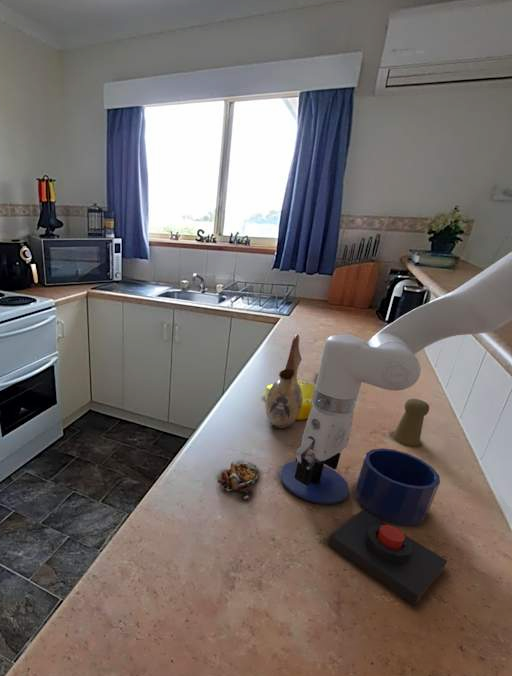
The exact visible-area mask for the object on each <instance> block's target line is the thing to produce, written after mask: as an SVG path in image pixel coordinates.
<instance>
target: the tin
mask: <svg viewBox="0 0 512 676" xmlns="http://www.w3.org/2000/svg"><path fill="white" fill-rule="evenodd" d="M360 468H361V469H360V471H359V474H358V478H357V482H356V485H355V489H354V496H355V499H356V501H357V502H358V504H360V506H361V507H362V508H364V509H365V511H366V512H368V513H369V514H371V515H373V516H374V517H376V518H378V519H380V520H383V521H386V522H388V523H391V524H395V525H398V526H399V525H400V526H408V527H409V526H416V525H420V524H421V523H423V522H424V521H425V519H426V518H427V516H428V514H429V512H430V509H431V506H432V504H433V501H434V499H435V496H436V494H437V491H438V489H439V487H440V484H441V479H440V475H439V472H437V471H436V469H435V468H434V467H433V466H432V465H430V464H429V463H427V462H426V461H424V460H423V459H421V458H419V457H417V456H414V455H412V454H410V453H407V452H404V451H400V450H397V449H391V448H385V447H382V448H373V449H370V450H369V451H367V452H365V455H364V458H363V462H362V464H361V467H360Z"/></svg>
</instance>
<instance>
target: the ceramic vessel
mask: <svg viewBox="0 0 512 676" xmlns="http://www.w3.org/2000/svg"><path fill="white" fill-rule="evenodd" d="M300 339H301V338H300V335H299V334H295V335H294V336H293V338H292V342H291V346H290V351H289V353H288V359H287V362H286V364H285V368H284V369H283V370H281V371H280V372H279V374H278V378H279V379H277V380H276V381H275V382H273V383H272V384H273V385H272V384H271V385H272V387H271V388H270V390H269V392H268V394H267V398H266V399H265V405H264V406H265V408H264V409H265V415H266V418H267V419H268V422H269V423H270V424H271V425H272V426H273V427H275V428H277V429H285V428H287V427H289V426H291V425H292V424H293V423H295V421H296V420H297V419H296V418H297V417H298V415H299V413H300V411H301V407H302V391H301V388H300V386H299V384H298V382H297V380H298V370H299V367H300V365H301V362H302V360H303V359H302V354H301V352H300Z"/></svg>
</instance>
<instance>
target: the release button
mask: <svg viewBox="0 0 512 676" xmlns="http://www.w3.org/2000/svg"><path fill="white" fill-rule="evenodd" d="M404 534H405V533H403V531H402V530H401V529H399V528H397V527H396V526H393V525H389V524H387V525H383V526H381V527H380V530H379V533H378V536H377V537H378V540H379V541H380V543H382V544H383V545H385V546H387V547H389V548H392V549H395V550H397V549H400V548H401V547H402V545H403V542H404V540H405V536H404Z"/></svg>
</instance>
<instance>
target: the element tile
mask: <svg viewBox="0 0 512 676" xmlns="http://www.w3.org/2000/svg"><path fill="white" fill-rule="evenodd" d="M297 382H298V384H299V386H300V388H301V391H302V407H301V411H300V413H299V415H298V417H297V418H296V420H298V421H299V420H300V421H301V420H308V418H309V415H310V412H311V409H312V407H313V405H312V399H313V395H314V391H315V386H316V385H313V384H312V383H309V382H308V381H305V380H304V379H297ZM273 384H274V383H272V384H268V385H267V386H266V390H265V395H264V399H265V400H266V398H267V394H268V392H269V390H270V388H271V387H272V385H273Z"/></svg>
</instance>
